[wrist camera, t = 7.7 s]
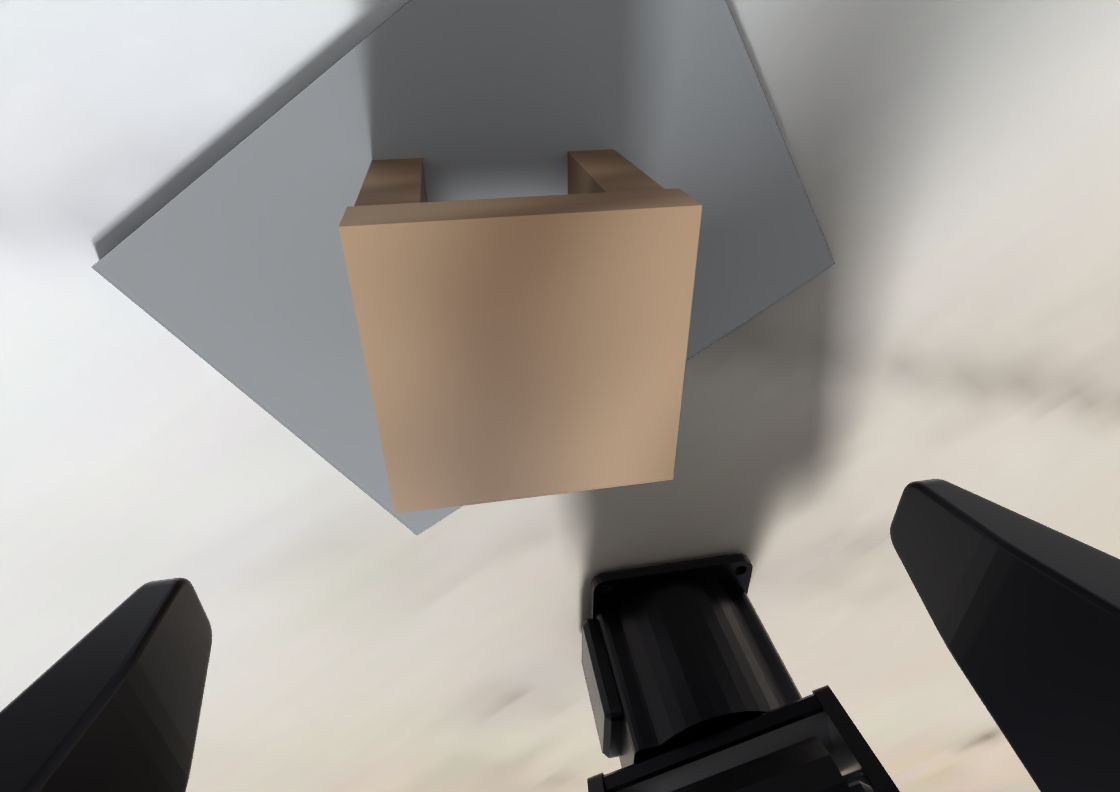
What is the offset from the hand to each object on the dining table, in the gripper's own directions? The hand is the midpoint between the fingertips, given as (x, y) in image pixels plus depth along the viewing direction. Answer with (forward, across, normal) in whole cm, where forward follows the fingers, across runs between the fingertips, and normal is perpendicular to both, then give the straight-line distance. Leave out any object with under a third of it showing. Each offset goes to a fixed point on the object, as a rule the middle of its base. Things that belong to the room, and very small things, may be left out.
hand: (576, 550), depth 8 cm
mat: (+11, 0, 0) cm, 11 cm away
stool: (+11, 0, 0) cm, 11 cm away
